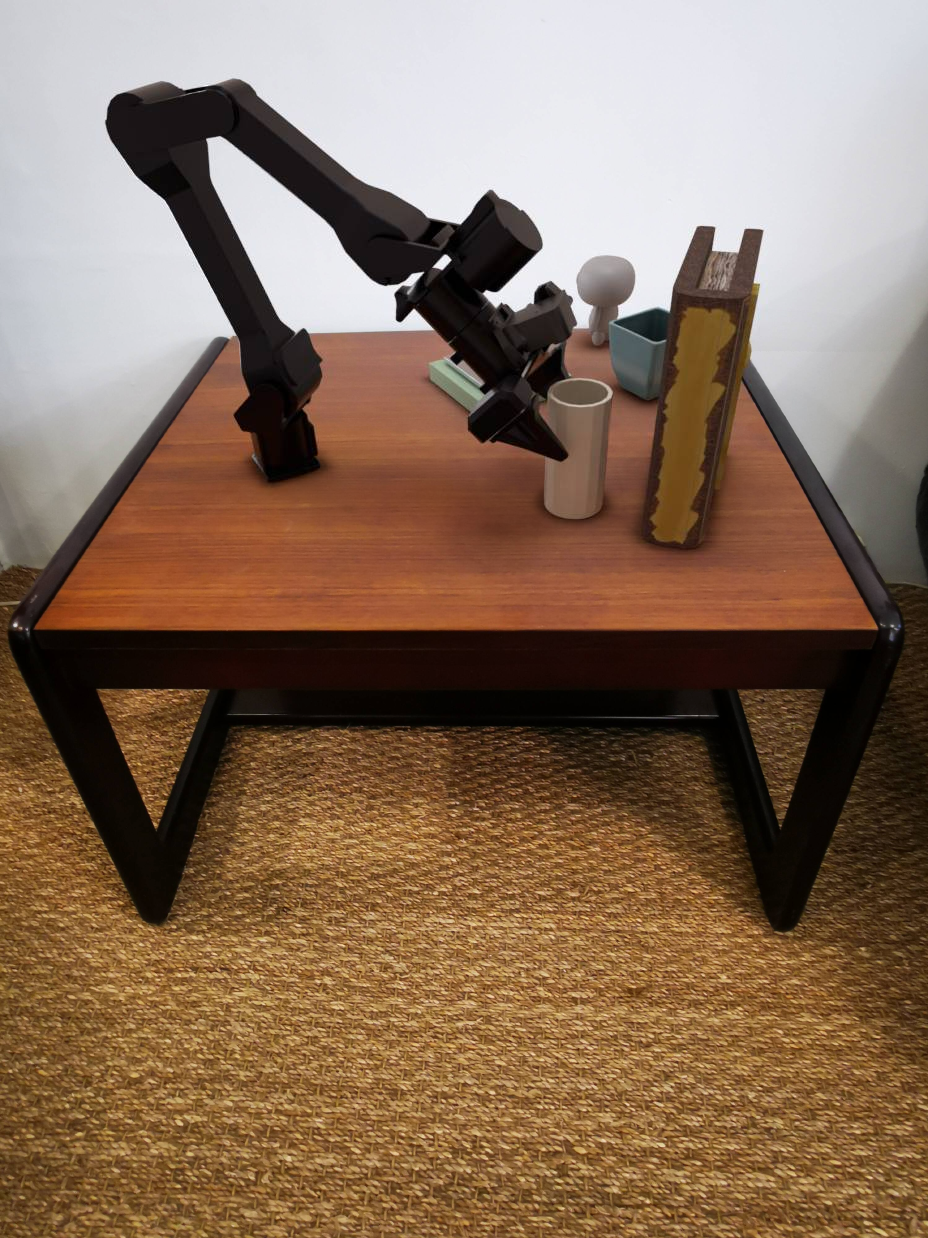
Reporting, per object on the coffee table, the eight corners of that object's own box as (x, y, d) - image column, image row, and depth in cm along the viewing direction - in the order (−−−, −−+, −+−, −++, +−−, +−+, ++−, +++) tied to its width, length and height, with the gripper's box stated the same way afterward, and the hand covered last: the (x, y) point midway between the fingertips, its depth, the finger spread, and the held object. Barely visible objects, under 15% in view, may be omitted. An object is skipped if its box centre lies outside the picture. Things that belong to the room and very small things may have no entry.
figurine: (593, 328, 126) (599, 245, 118) (637, 339, 123) (646, 254, 115) (564, 346, 122) (568, 261, 114) (609, 358, 118) (616, 271, 110)
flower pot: (696, 392, 109) (707, 325, 103) (647, 412, 105) (656, 343, 99) (649, 370, 115) (657, 305, 109) (601, 387, 111) (606, 321, 105)
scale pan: (484, 390, 105) (484, 386, 104) (443, 360, 112) (443, 356, 112) (556, 370, 109) (556, 366, 108) (512, 342, 116) (512, 337, 116)
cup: (565, 525, 87) (572, 412, 78) (533, 498, 91) (536, 387, 83) (614, 508, 89) (625, 396, 81) (580, 481, 93) (587, 372, 85)
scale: (480, 419, 105) (479, 399, 103) (429, 379, 115) (428, 360, 113) (571, 392, 110) (572, 372, 108) (515, 356, 120) (515, 337, 118)
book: (712, 553, 82) (763, 301, 66) (627, 539, 85) (656, 293, 68) (731, 446, 98) (777, 221, 82) (659, 437, 100) (689, 216, 84)
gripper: (499, 302, 69) (620, 436, 73) (548, 234, 82) (648, 351, 87) (417, 382, 76) (532, 500, 80) (474, 308, 89) (570, 412, 94)
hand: (574, 436), depth 85 cm, fingers open, 9 cm apart
